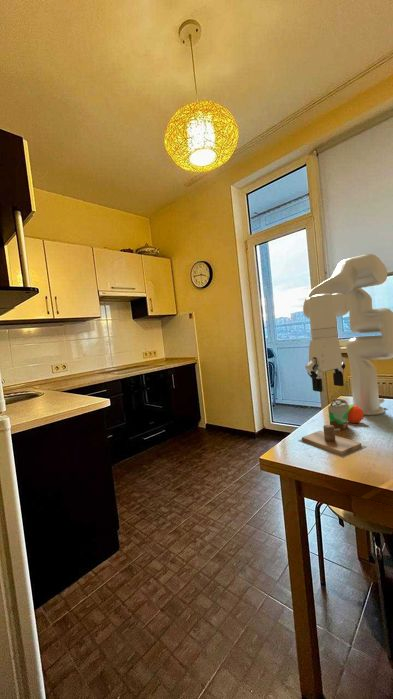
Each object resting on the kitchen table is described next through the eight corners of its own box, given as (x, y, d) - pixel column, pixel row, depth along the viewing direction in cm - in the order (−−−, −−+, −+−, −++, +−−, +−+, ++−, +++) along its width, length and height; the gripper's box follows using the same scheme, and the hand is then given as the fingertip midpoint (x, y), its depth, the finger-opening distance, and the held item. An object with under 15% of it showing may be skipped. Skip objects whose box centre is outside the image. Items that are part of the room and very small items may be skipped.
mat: (320, 434, 103) (320, 432, 103) (366, 449, 88) (366, 446, 88) (297, 442, 98) (297, 440, 98) (343, 460, 83) (342, 457, 83)
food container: (349, 436, 99) (347, 407, 99) (330, 434, 102) (328, 406, 102) (352, 424, 110) (350, 398, 109) (334, 422, 113) (332, 397, 112)
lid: (320, 433, 102) (319, 418, 101) (361, 446, 88) (359, 428, 88) (302, 440, 98) (300, 424, 97) (341, 455, 84) (340, 436, 84)
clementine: (359, 427, 105) (357, 408, 105) (339, 424, 110) (337, 406, 110) (366, 421, 110) (365, 403, 110) (347, 418, 116) (346, 401, 115)
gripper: (332, 332, 97) (336, 382, 98) (294, 337, 90) (299, 391, 90) (353, 331, 91) (357, 384, 91) (314, 336, 83) (319, 395, 84)
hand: (328, 388), depth 91 cm, fingers open, 9 cm apart
